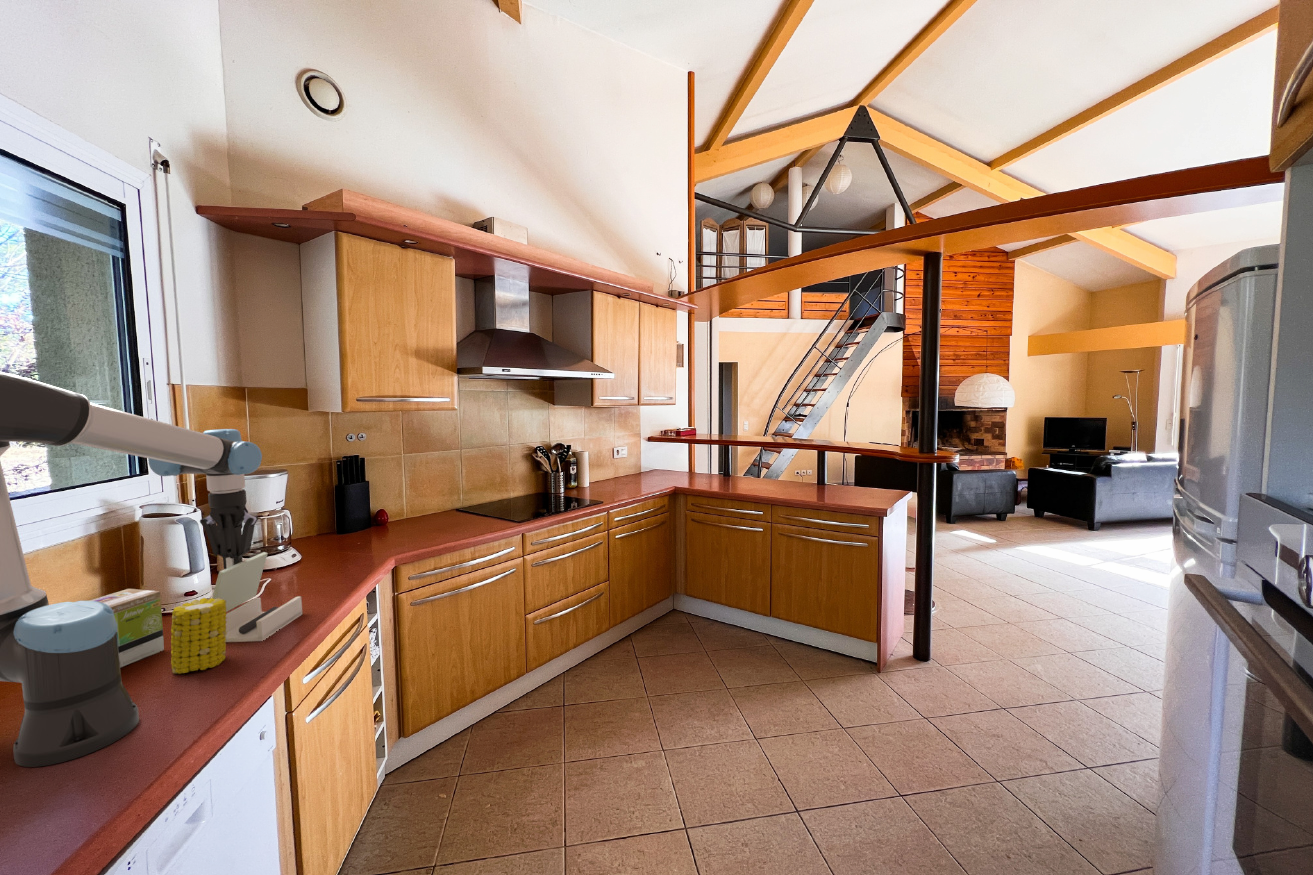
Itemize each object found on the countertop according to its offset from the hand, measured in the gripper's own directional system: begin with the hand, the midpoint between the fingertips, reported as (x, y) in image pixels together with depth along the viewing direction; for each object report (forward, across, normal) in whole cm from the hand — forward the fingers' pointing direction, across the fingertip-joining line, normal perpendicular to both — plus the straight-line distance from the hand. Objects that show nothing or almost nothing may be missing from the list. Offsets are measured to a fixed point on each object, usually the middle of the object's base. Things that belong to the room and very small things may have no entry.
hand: (234, 581), depth 140 cm
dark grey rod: (+11, -5, 0) cm, 13 cm away
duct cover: (+1, -1, 0) cm, 2 cm away
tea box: (+13, +16, +17) cm, 26 cm away
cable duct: (+12, -6, 0) cm, 14 cm away
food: (+13, -5, +19) cm, 24 cm away
